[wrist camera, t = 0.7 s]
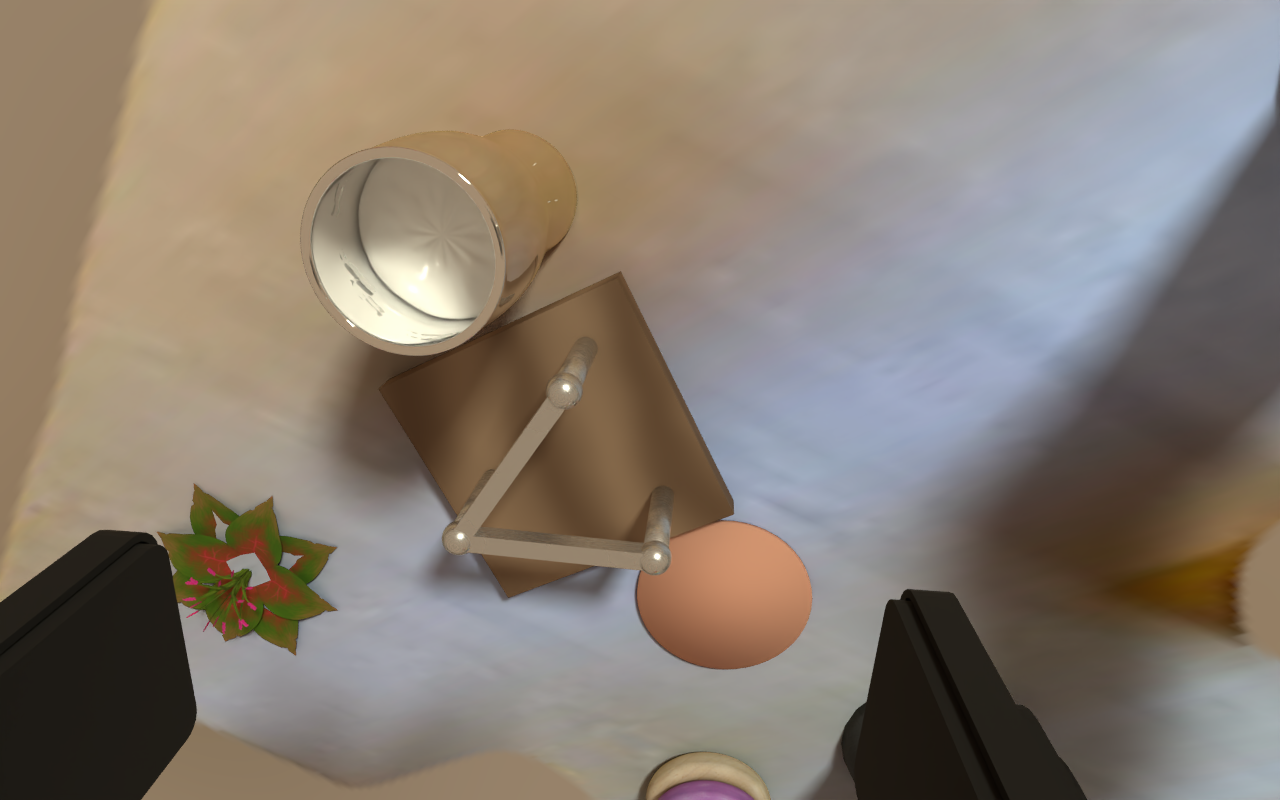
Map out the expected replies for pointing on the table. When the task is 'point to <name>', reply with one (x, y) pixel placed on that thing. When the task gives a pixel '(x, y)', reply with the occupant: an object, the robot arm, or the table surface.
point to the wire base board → (563, 429)
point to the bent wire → (545, 546)
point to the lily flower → (230, 596)
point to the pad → (727, 596)
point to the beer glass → (434, 234)
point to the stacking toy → (706, 779)
